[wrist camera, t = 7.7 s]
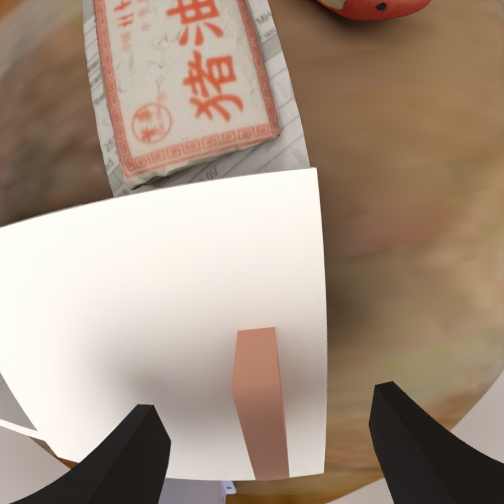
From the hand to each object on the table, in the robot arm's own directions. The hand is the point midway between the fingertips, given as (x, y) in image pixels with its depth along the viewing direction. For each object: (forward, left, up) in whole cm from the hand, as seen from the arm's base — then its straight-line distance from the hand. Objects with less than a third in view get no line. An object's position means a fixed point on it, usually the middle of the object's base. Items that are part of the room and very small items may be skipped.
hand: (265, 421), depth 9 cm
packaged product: (+15, +3, -9) cm, 18 cm away
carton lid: (0, +6, -2) cm, 7 cm away
